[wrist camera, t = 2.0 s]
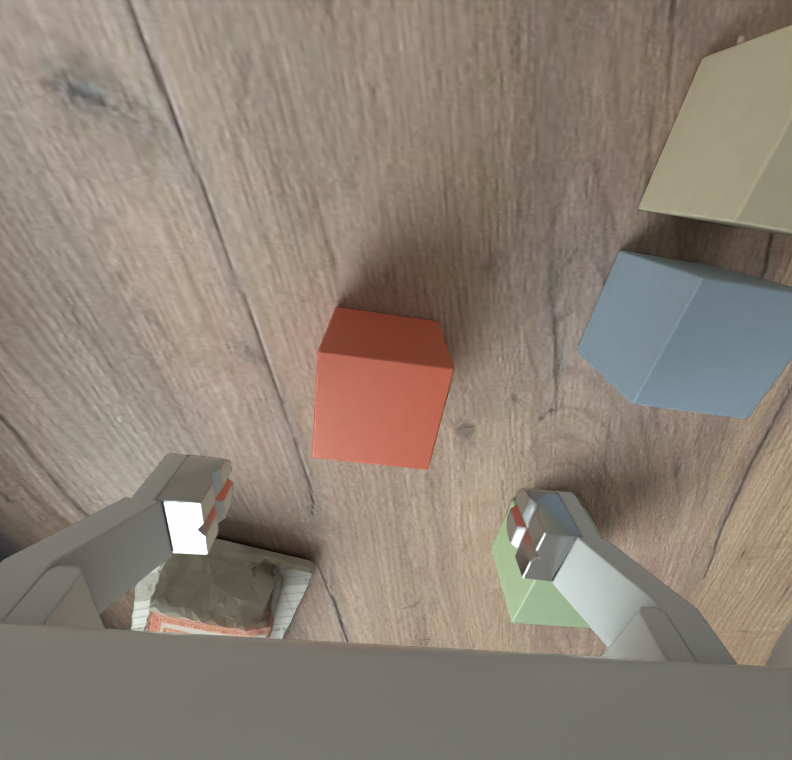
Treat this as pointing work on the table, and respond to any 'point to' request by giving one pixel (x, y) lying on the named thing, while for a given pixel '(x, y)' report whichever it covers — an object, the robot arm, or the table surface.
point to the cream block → (732, 141)
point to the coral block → (380, 389)
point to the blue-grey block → (689, 335)
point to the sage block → (531, 588)
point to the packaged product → (222, 592)
